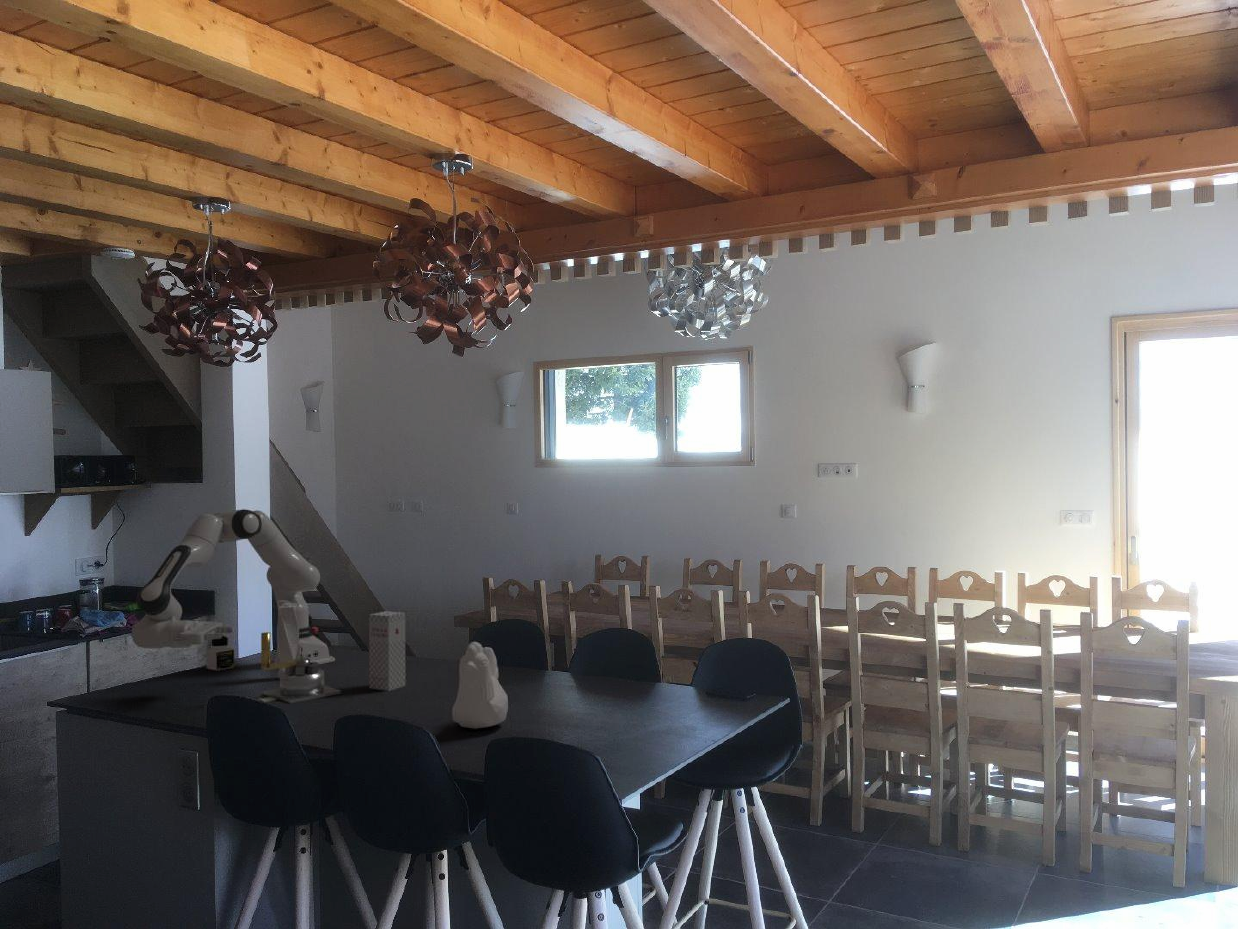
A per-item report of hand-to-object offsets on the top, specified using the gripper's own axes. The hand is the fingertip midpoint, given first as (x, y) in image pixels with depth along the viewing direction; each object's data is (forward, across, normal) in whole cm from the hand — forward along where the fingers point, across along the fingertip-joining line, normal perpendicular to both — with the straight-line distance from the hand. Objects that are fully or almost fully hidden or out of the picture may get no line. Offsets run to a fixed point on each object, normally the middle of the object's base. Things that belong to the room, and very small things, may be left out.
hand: (226, 632), depth 321 cm
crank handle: (+20, -1, +14) cm, 25 cm away
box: (+50, +11, +22) cm, 55 cm away
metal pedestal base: (+23, +2, +21) cm, 32 cm away
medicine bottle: (-19, +46, +22) cm, 54 cm away
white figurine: (+88, -38, +22) cm, 98 cm away
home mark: (+14, -6, +21) cm, 26 cm away
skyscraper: (+12, +27, +22) cm, 36 cm away
